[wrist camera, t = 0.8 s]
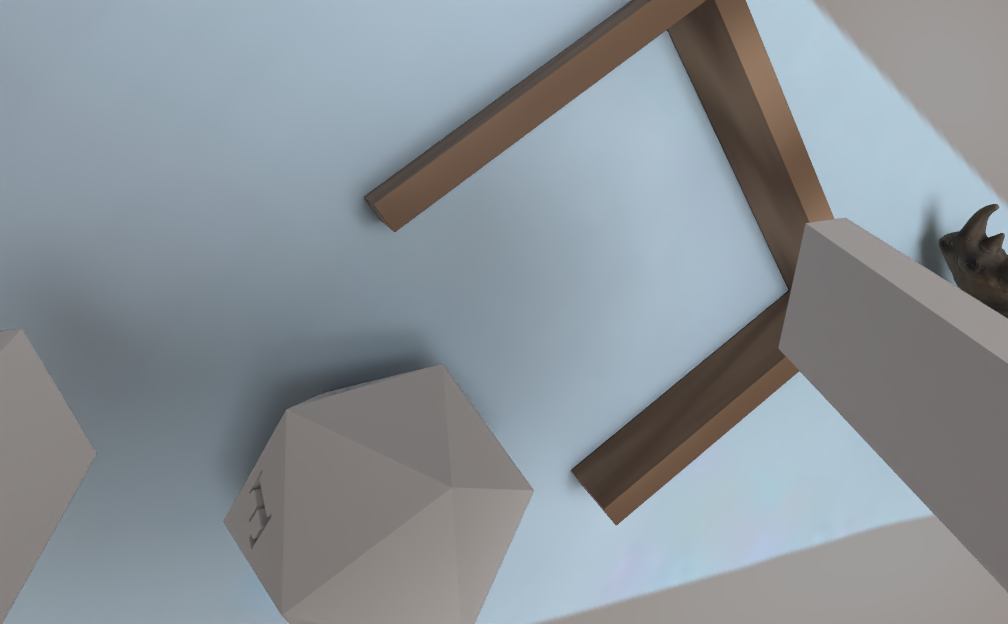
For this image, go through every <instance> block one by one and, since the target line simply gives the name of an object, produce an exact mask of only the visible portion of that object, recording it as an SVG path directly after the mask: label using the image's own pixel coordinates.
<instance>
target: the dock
mask: <svg viewBox="0 0 1008 624" xmlns="http://www.w3.org/2000/svg"><path fill="white" fill-rule="evenodd" d="M667 29H668V31H669V34H670V36H671V38H672V40H673V42H674V44H675V46H676V49H677V51H678V53H679V55H680V57H681V59H682V61H683V64H684V66H685V68H686V70H687V72H688V74H689V76H690V79H691V81H692V83H693V85H694V87H695V89H696V91H697V94H698V96H699V98H700V100H701V102H702V104H703V106H704V109H705V111H706V113H707V115H708V117H709V119H710V121H711V124H712V126H713V128H714V130H715V132H716V134H717V136H718V139H719V141H720V143H721V145H722V147H723V149H724V151H725V154H726V156H727V158H728V160H729V162H730V164H731V166H732V169H733V171H734V173H735V175H736V177H737V179H738V181H739V184H740V186H741V188H742V190H743V192H744V194H745V196H746V199H747V201H748V203H749V205H750V207H751V209H752V211H753V214H754V216H755V218H756V220H757V222H758V224H759V226H760V229H761V231H762V233H763V235H764V237H765V239H766V241H767V244H768V246H769V248H770V250H771V252H772V254H773V256H774V259H775V261H776V263H777V265H778V267H779V269H780V271H781V274H782V276H783V278H784V280H785V282H786V284H787V286H788V289H789V291H788V292H787V293H786V294H785V295H783V296H782V297H781V298H780V299H779V300H777V301H776V302H775V303H774V304H773V305H771V306H770V307H769V308H768V309H766V310H765V311H764V312H763V313H762V314H760V315H759V316H758V317H757V318H756V319H754V320H753V321H752V322H751V323H749V324H748V325H747V326H746V327H745V328H743V329H742V330H741V331H740V332H739V333H737V334H736V335H735V336H734V337H733V338H731V339H730V340H729V341H728V342H726V343H725V344H724V345H723V346H722V347H720V348H719V349H718V350H717V351H716V352H714V353H713V354H712V355H711V356H709V357H708V358H707V359H706V360H705V361H703V362H702V363H701V364H700V365H699V366H697V367H696V368H695V369H694V370H692V371H691V372H690V373H689V374H688V375H686V376H685V377H684V378H683V379H682V380H680V381H679V382H678V383H677V384H676V385H674V386H673V387H672V388H671V389H669V390H668V391H667V392H666V393H665V394H663V395H662V396H661V397H660V398H659V399H657V400H656V401H655V402H654V403H652V404H651V405H650V406H649V407H648V408H646V409H645V410H644V411H643V412H642V413H640V414H639V415H638V416H637V417H635V418H634V419H633V420H632V421H631V422H629V423H628V424H627V425H626V426H625V427H623V428H622V429H621V430H620V431H619V432H617V433H616V434H615V435H614V436H612V437H611V438H610V439H609V440H608V441H606V442H605V443H604V444H603V445H602V446H600V447H599V448H598V449H597V450H595V451H594V452H593V453H592V454H591V455H589V456H588V457H587V458H586V459H585V460H583V461H582V462H581V463H580V464H578V465H577V466H576V467H575V468H574V469H572V470H571V471H572V473H573V474H574V475H575V477H576V478H577V479H578V480H579V482H580V483H581V484H582V486H583V487H584V488H585V489H586V490H587V492H588V493H589V494H590V495H591V496H592V498H593V499H594V500H595V501H596V502H597V504H598V505H599V506H600V507H601V508H602V509H603V511H604V512H605V513H606V514H607V515H608V517H609V518H610V519H611V520H612V521H613V523H614V524H615V525H618V524H619V523H620V522H621V521H622V520H624V519H625V518H626V517H627V516H628V515H629V514H631V513H632V512H633V511H634V510H635V509H637V508H638V507H639V506H640V505H641V504H642V503H644V502H645V501H646V500H647V499H648V498H650V497H651V496H652V495H653V494H654V493H655V492H657V491H658V490H659V489H660V488H661V487H663V486H664V485H665V484H666V483H667V482H669V481H670V480H671V479H672V478H673V477H674V476H676V475H677V474H678V473H679V472H680V471H682V470H683V469H684V468H685V467H686V466H687V465H689V464H690V463H691V462H692V461H693V460H695V459H696V458H697V457H698V456H699V455H700V454H702V453H703V452H704V451H705V450H706V449H708V448H709V447H710V446H711V445H712V444H714V443H715V442H716V441H717V440H718V439H719V438H721V437H722V436H723V435H724V434H725V433H727V432H728V431H729V430H730V429H731V428H732V427H734V426H735V425H736V424H737V423H738V422H740V421H741V420H742V419H743V418H744V417H745V416H747V415H748V414H749V413H750V412H751V411H753V410H754V409H755V408H756V407H757V406H759V405H760V404H761V403H762V402H763V401H764V400H766V399H767V398H768V397H769V396H770V395H772V394H773V393H774V392H775V391H776V390H777V389H779V388H780V387H781V386H782V385H783V384H785V383H786V382H787V381H788V380H789V379H790V378H792V377H793V376H794V375H795V374H796V373H798V372H799V370H798V369H797V368H796V367H795V366H794V364H793V363H792V362H791V361H790V360H789V359H788V358H787V357H786V356H785V355H784V354H783V353H782V352H781V351H780V350H779V349H778V347H779V342H780V338H781V333H782V329H783V324H784V320H785V315H786V311H787V306H788V302H789V297H790V292H791V288H792V283H793V279H794V274H795V270H796V265H797V261H798V256H799V252H800V247H801V243H802V238H803V233H804V229H805V224H806V223H811V222H818V221H826V220H833V219H834V217H833V215H832V212H831V210H830V207H829V205H828V202H827V200H826V197H825V195H824V192H823V190H822V188H821V185H820V183H819V180H818V178H817V175H816V173H815V170H814V168H813V165H812V163H811V160H810V158H809V155H808V153H807V151H806V148H805V146H804V143H803V141H802V138H801V136H800V133H799V131H798V128H797V126H796V123H795V121H794V119H793V116H792V114H791V111H790V109H789V106H788V104H787V101H786V99H785V96H784V94H783V91H782V89H781V86H780V84H779V82H778V79H777V77H776V74H775V72H774V69H773V67H772V64H771V62H770V59H769V57H768V54H767V52H766V49H765V47H764V45H763V42H762V40H761V37H760V35H759V32H758V30H757V27H756V25H755V22H754V20H753V17H752V15H751V13H750V10H749V8H748V5H747V3H746V0H632V1H631V2H629V3H628V4H626V5H625V6H624V7H622V8H621V9H620V10H618V11H617V12H616V13H614V14H613V15H611V16H610V17H609V18H607V19H606V20H605V21H603V22H602V23H601V24H599V25H598V26H596V27H595V28H594V29H592V30H591V31H590V32H588V33H587V34H585V35H584V36H583V37H581V38H580V39H579V40H577V41H576V42H575V43H573V44H572V45H570V46H569V47H568V48H566V49H565V50H564V51H562V52H561V53H560V54H558V55H557V56H555V57H554V58H553V59H551V60H550V61H549V62H547V63H546V64H545V65H543V66H542V67H540V68H539V69H538V70H536V71H535V72H534V73H532V74H531V75H530V76H528V77H527V78H525V79H524V80H523V81H521V82H520V83H519V84H517V85H516V86H515V87H513V88H512V89H510V90H509V91H508V92H506V93H505V94H504V95H502V96H501V97H500V98H498V99H497V100H495V101H494V102H493V103H491V104H490V105H489V106H487V107H486V108H485V109H483V110H482V111H480V112H479V113H478V114H476V115H475V116H474V117H472V118H471V119H470V120H468V121H467V122H465V123H464V124H463V125H461V126H460V127H459V128H457V129H456V130H454V131H453V132H452V133H450V134H449V135H448V136H446V137H445V138H444V139H442V140H441V141H439V142H438V143H437V144H435V145H434V146H433V147H431V148H430V149H429V150H427V151H426V152H424V153H423V154H422V155H420V156H419V157H418V158H416V159H415V160H414V161H412V162H411V163H409V164H408V165H407V166H405V167H404V168H403V169H401V170H400V171H399V172H397V173H396V174H394V175H393V176H392V177H390V178H389V179H388V180H386V181H385V182H384V183H382V184H381V185H379V186H378V187H377V188H375V189H374V190H373V191H371V192H370V193H369V194H367V195H366V196H364V198H365V199H366V201H367V202H368V203H369V205H370V206H371V207H372V209H373V210H374V211H375V213H376V214H377V215H378V217H379V218H380V219H381V221H382V222H383V223H385V224H386V225H387V226H388V227H389V228H390V229H392V230H393V231H394V232H396V231H397V230H399V229H400V228H401V227H403V226H404V225H405V224H407V223H408V222H409V221H411V220H412V219H413V218H415V217H416V216H417V215H419V214H420V213H421V212H423V211H424V210H425V209H427V208H428V207H429V206H431V205H432V204H433V203H435V202H436V201H437V200H439V199H440V198H442V197H443V196H444V195H446V194H447V193H448V192H450V191H451V190H452V189H454V188H455V187H456V186H458V185H459V184H460V183H462V182H463V181H464V180H466V179H467V178H468V177H470V176H471V175H472V174H474V173H475V172H476V171H478V170H479V169H480V168H482V167H483V166H484V165H486V164H487V163H488V162H490V161H491V160H493V159H494V158H495V157H497V156H498V155H499V154H501V153H502V152H503V151H505V150H506V149H507V148H509V147H510V146H511V145H513V144H514V143H515V142H517V141H518V140H519V139H521V138H522V137H523V136H525V135H526V134H527V133H529V132H530V131H531V130H533V129H534V128H535V127H537V126H538V125H540V124H541V123H542V122H544V121H545V120H546V119H548V118H549V117H550V116H552V115H553V114H554V113H556V112H557V111H558V110H560V109H561V108H562V107H564V106H565V105H566V104H568V103H569V102H570V101H572V100H573V99H574V98H576V97H577V96H578V95H580V94H581V93H582V92H584V91H585V90H586V89H588V88H589V87H591V86H592V85H593V84H595V83H596V82H597V81H599V80H600V79H601V78H603V77H604V76H605V75H607V74H608V73H609V72H611V71H612V70H613V69H615V68H616V67H617V66H619V65H620V64H621V63H623V62H624V61H625V60H627V59H628V58H629V57H631V56H632V55H633V54H635V53H636V52H638V51H639V50H640V49H642V48H643V47H644V46H646V45H647V44H648V43H650V42H651V41H652V40H654V39H655V38H656V37H658V36H659V35H660V34H662V33H663V32H664V31H666V30H667Z"/></svg>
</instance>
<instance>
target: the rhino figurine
mask: <svg viewBox="0 0 1008 624" xmlns="http://www.w3.org/2000/svg"><path fill="white" fill-rule="evenodd" d="M998 208H999V206H998V205H997V204H991V205H988V206H985V207H983V208H982V209H980V210H979V211H977V212H976V213H975V214H974V215H973V216H972V217H971V218H970V219H969V220H968V222H967V223H966V224H965V226H964V227H963V228H962V229H961V230H960V231H959V232H954V233H950V234H947V235H944V236H943V237H942V238H941V239H940V240H939V247H940V249H941V251H942V253H943V256H944V258H945V260H946V262H947V264H948V266H949V269H950V271H951V272H952V274H953V277H954V280H955V282H956V284H957V286H958V287H959V288H960V289H961V290H962V291H964V292H966V293H967V294H969V295H970V296H972V297H974V298H975V299H977V300H979V301H980V302H982V303H983V304H985V305H987V306H988V307H990V308H991V309H993V310H995V311H996V312H998V313H999V314H1001V315H1003V316H1004V317H1006V318H1007V319H1008V255H1007V254H1006V252H1005V251H1004V250H1003V249H1002V243H1003V240H1004V237H1005V235H1004V233H1000V234H997V235H995V236H992V237H989V238H988V237H987V235H986V233H985V231H986V225H987V221H988V218H989V216H990V215H991V214H992V213H993V212H994V211H996V210H997V209H998Z"/></svg>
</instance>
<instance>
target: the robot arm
mask: <svg viewBox="0 0 1008 624" xmlns="http://www.w3.org/2000/svg"><path fill="white" fill-rule="evenodd" d="M778 349H779V350H780V351H781V352H782V353H783V354H784V355H785V356H786V357H787V358H788V359H789V360H790V361H791V362H792V363H793V364H794V366H795V367H796V368H797V369H798V370H799V371H800V372H801V373H802V374H803V375H804V376H805V377H806V378H807V379H808V380H809V382H810V383H811V384H812V385H813V386H814V387H815V388H816V389H817V390H818V391H819V392H820V393H821V394H822V395H823V396H824V397H825V399H826V400H827V401H828V402H829V403H830V404H831V405H832V406H833V407H834V408H835V409H836V410H837V411H838V412H839V413H840V414H841V416H842V417H843V418H844V419H845V420H846V421H847V422H848V423H849V424H850V425H851V426H852V427H853V428H854V429H855V430H856V432H857V433H858V434H859V435H860V436H861V437H862V438H863V439H864V440H865V441H866V442H867V443H868V444H869V445H870V446H871V447H872V449H873V450H874V451H875V452H876V453H877V454H878V455H879V456H880V457H881V458H882V459H883V460H884V461H885V462H886V463H887V464H888V466H889V467H890V468H891V469H892V470H893V471H894V472H895V473H896V474H897V475H898V476H899V477H900V478H901V479H902V480H903V482H904V483H905V484H906V485H907V486H908V487H909V488H910V489H911V490H912V491H913V492H914V493H915V494H916V495H917V496H918V497H919V499H920V500H921V501H922V502H923V503H924V504H925V505H926V506H927V507H928V508H929V509H930V510H931V511H932V512H933V513H934V514H935V516H936V517H937V518H938V519H939V520H940V521H941V522H942V523H943V524H944V525H945V526H946V527H947V528H948V529H949V530H950V532H951V533H952V534H953V535H954V536H955V537H956V538H957V539H958V540H959V541H960V542H961V543H962V544H963V545H964V546H965V547H966V549H967V550H968V551H969V552H970V553H971V554H972V555H973V556H974V557H975V558H976V559H977V560H978V561H979V562H980V563H981V564H982V565H983V567H984V568H985V569H986V570H987V571H988V572H989V573H990V574H991V575H992V576H993V577H994V578H995V579H996V580H997V581H998V582H999V583H1000V585H1001V586H1002V587H1003V588H1004V589H1005V590H1006V591H1007V592H1008V319H1007V318H1006V317H1004V316H1003V315H1001V314H999V313H998V312H996V311H995V310H993V309H991V308H990V307H988V306H987V305H985V304H983V303H982V302H980V301H978V300H977V299H975V298H974V297H972V296H970V295H969V294H967V293H966V292H964V291H962V290H961V289H959V288H958V287H956V286H954V285H953V284H951V283H950V282H948V281H946V280H945V279H943V278H941V277H940V276H938V275H937V274H935V273H933V272H932V271H930V270H929V269H927V268H925V267H924V266H922V265H921V264H919V263H917V262H916V261H914V260H913V259H911V258H909V257H908V256H906V255H905V254H903V253H901V252H900V251H898V250H896V249H895V248H893V247H892V246H890V245H888V244H887V243H885V242H884V241H882V240H880V239H879V238H877V237H876V236H874V235H872V234H871V233H869V232H868V231H866V230H864V229H863V228H861V227H860V226H858V225H856V224H855V223H853V222H851V221H850V220H848V219H847V218H841V219H833V220H826V221H818V222H811V223H806V224H805V229H804V233H803V238H802V243H801V247H800V252H799V256H798V261H797V265H796V270H795V274H794V279H793V283H792V288H791V292H790V297H789V302H788V306H787V311H786V315H785V320H784V324H783V329H782V333H781V338H780V342H779V347H778ZM96 455H97V453H96V452H95V450H94V448H93V447H92V445H91V443H90V442H89V440H88V438H87V437H86V435H85V433H84V432H83V430H82V428H81V427H80V425H79V423H78V421H77V420H76V418H75V416H74V415H73V413H72V411H71V410H70V408H69V406H68V405H67V403H66V401H65V400H64V398H63V396H62V395H61V393H60V391H59V389H58V388H57V386H56V384H55V383H54V381H53V379H52V378H51V376H50V374H49V373H48V371H47V369H46V368H45V366H44V364H43V363H42V361H41V359H40V357H39V356H38V354H37V352H36V351H35V349H34V347H33V346H32V344H31V342H30V341H29V339H28V337H27V336H26V334H25V332H24V331H23V329H22V328H19V329H12V330H4V331H0V624H2V623H3V621H4V619H5V617H6V616H7V614H8V612H9V610H10V609H11V607H12V605H13V603H14V601H15V600H16V598H17V596H18V594H19V592H20V591H21V589H22V587H23V585H24V584H25V582H26V580H27V578H28V576H29V575H30V573H31V571H32V569H33V567H34V566H35V564H36V562H37V560H38V558H39V557H40V555H41V553H42V551H43V550H44V548H45V546H46V544H47V542H48V541H49V539H50V537H51V535H52V533H53V532H54V530H55V528H56V526H57V525H58V523H59V521H60V519H61V517H62V516H63V514H64V512H65V510H66V508H67V507H68V505H69V503H70V501H71V499H72V498H73V496H74V494H75V492H76V491H77V489H78V487H79V485H80V483H81V482H82V480H83V478H84V476H85V474H86V473H87V471H88V469H89V467H90V465H91V464H92V462H93V460H94V458H95V457H96Z"/></svg>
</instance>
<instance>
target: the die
mask: <svg viewBox="0 0 1008 624" xmlns="http://www.w3.org/2000/svg"><path fill="white" fill-rule="evenodd" d="M533 491H534V490H533V488H532V487H531V486H530V484H529V483H528V481H527V480H526V479H525V477H524V476H523V475H522V473H521V472H520V470H519V469H518V468H517V466H516V465H515V463H514V462H513V461H512V459H511V458H510V457H509V455H508V454H507V452H506V451H505V450H504V448H503V447H502V445H501V444H500V443H499V441H498V440H497V438H496V437H495V436H494V434H493V433H492V432H491V430H490V429H489V427H488V426H487V425H486V423H485V422H484V420H483V419H482V418H481V416H480V415H479V414H478V412H477V411H476V409H475V408H474V407H473V405H472V404H471V402H470V401H469V400H468V398H467V397H466V395H465V394H464V393H463V391H462V390H461V389H460V387H459V386H458V384H457V383H456V382H455V380H454V379H453V377H452V376H451V375H450V373H449V372H448V370H447V369H446V368H445V366H444V365H443V364H439V365H435V366H431V367H427V368H423V369H418V370H414V371H410V372H406V373H402V374H398V375H394V376H390V377H386V378H382V379H378V380H374V381H370V382H366V383H362V384H358V385H354V386H350V387H345V388H341V389H337V390H333V391H329V392H325V393H321V394H319V395H317V396H315V397H312V398H310V399H308V400H306V401H304V402H301V403H299V404H297V405H295V406H293V407H290V408H288V409H286V411H285V413H284V414H283V416H282V418H281V420H280V422H279V423H278V425H277V427H276V429H275V430H274V432H273V434H272V436H271V438H270V439H269V441H268V443H267V445H266V447H265V448H264V450H263V452H262V454H261V455H260V457H259V459H258V461H257V463H256V464H255V466H254V468H253V470H252V471H251V473H250V475H249V477H248V479H247V480H246V482H245V484H244V486H243V488H242V489H241V491H240V493H239V495H238V496H237V498H236V500H235V502H234V504H233V505H232V507H231V509H230V511H229V513H228V514H227V516H226V518H225V520H224V521H223V522H224V524H225V525H226V527H227V529H228V530H229V532H230V533H231V535H232V537H233V538H234V540H235V541H236V543H237V545H238V546H239V548H240V549H241V551H242V553H243V554H244V556H245V557H246V559H247V561H248V562H249V564H250V565H251V567H252V569H253V570H254V572H255V573H256V575H257V577H258V578H259V580H260V581H261V583H262V585H263V586H264V588H265V590H266V591H267V593H268V594H269V596H270V598H271V599H272V601H273V602H274V604H275V606H276V607H277V609H278V610H279V612H280V614H281V615H282V616H283V617H284V618H285V619H286V620H287V621H288V622H289V623H290V624H475V621H476V619H477V617H478V615H479V612H480V610H481V608H482V606H483V603H484V601H485V599H486V597H487V594H488V592H489V590H490V588H491V585H492V583H493V581H494V579H495V577H496V574H497V572H498V570H499V568H500V565H501V563H502V561H503V559H504V556H505V554H506V552H507V550H508V547H509V545H510V543H511V541H512V538H513V536H514V534H515V532H516V530H517V527H518V525H519V523H520V521H521V518H522V516H523V514H524V512H525V509H526V507H527V505H528V503H529V500H530V498H531V496H532V494H533Z"/></svg>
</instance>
